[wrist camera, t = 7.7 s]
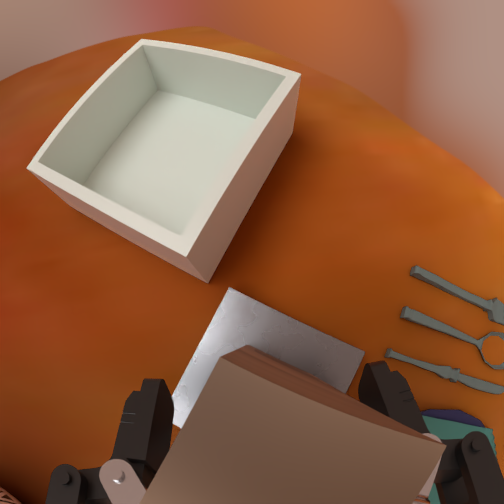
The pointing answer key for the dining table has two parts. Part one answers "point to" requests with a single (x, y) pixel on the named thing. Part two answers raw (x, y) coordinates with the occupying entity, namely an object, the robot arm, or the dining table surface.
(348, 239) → the dining table surface
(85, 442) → the dining table surface
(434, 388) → the dining table surface
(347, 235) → the dining table surface
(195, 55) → the bin
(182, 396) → the stud plate
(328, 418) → the strut
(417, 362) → the cutlery set
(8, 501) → the planter
